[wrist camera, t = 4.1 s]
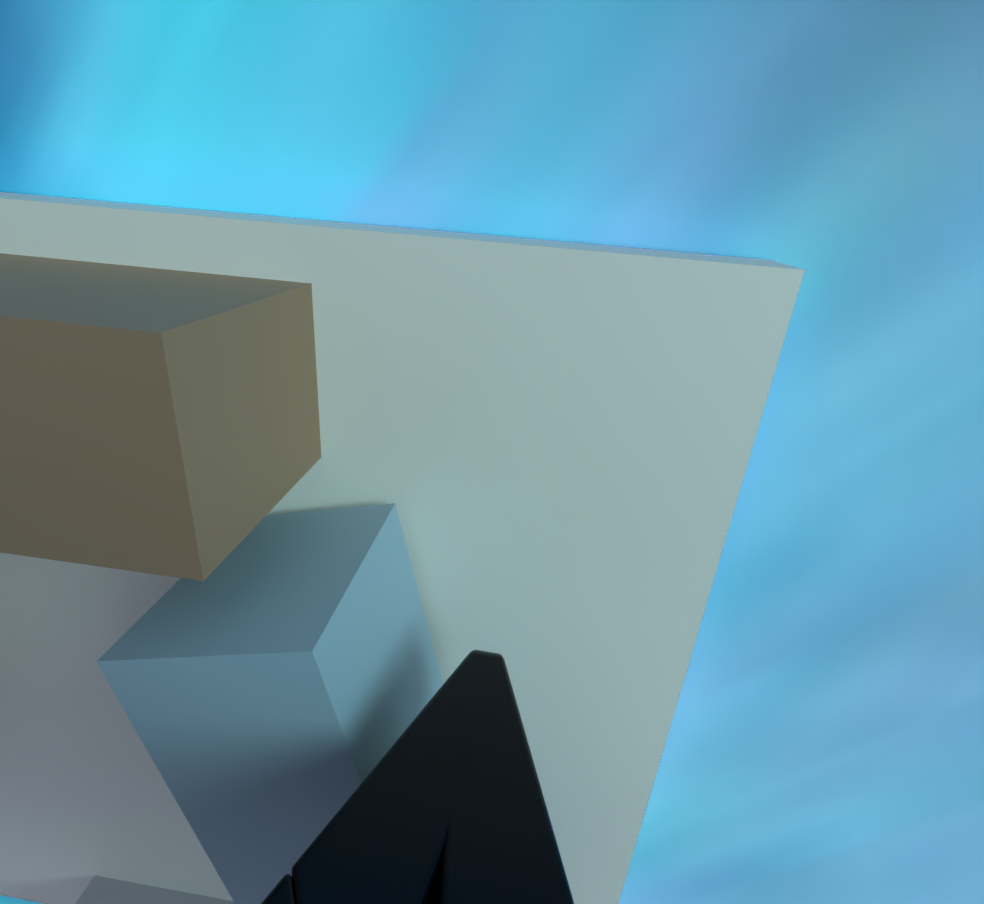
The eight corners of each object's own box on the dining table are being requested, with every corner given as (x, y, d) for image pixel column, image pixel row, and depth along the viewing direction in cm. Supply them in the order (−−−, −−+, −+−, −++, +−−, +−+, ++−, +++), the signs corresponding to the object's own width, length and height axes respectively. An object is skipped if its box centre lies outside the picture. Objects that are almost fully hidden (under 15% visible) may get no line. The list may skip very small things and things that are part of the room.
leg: (522, 959, 13) (508, 1216, 10) (406, 953, 13) (355, 1195, 10) (404, 502, 8) (299, 699, 5) (233, 518, 9) (36, 708, 5)
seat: (584, 952, 15) (591, 1208, 11) (-4, 844, 16) (-179, 1041, 12) (770, 260, 8) (975, 318, 4) (-328, 163, 9) (-990, 135, 5)
